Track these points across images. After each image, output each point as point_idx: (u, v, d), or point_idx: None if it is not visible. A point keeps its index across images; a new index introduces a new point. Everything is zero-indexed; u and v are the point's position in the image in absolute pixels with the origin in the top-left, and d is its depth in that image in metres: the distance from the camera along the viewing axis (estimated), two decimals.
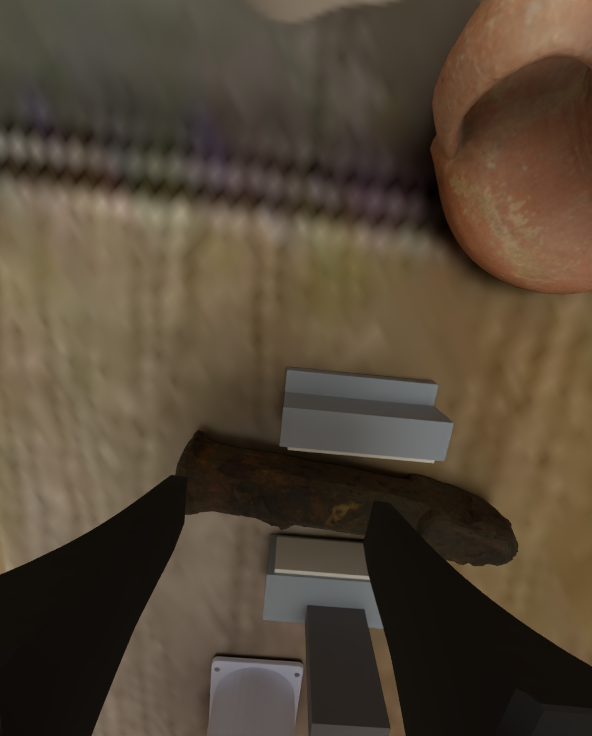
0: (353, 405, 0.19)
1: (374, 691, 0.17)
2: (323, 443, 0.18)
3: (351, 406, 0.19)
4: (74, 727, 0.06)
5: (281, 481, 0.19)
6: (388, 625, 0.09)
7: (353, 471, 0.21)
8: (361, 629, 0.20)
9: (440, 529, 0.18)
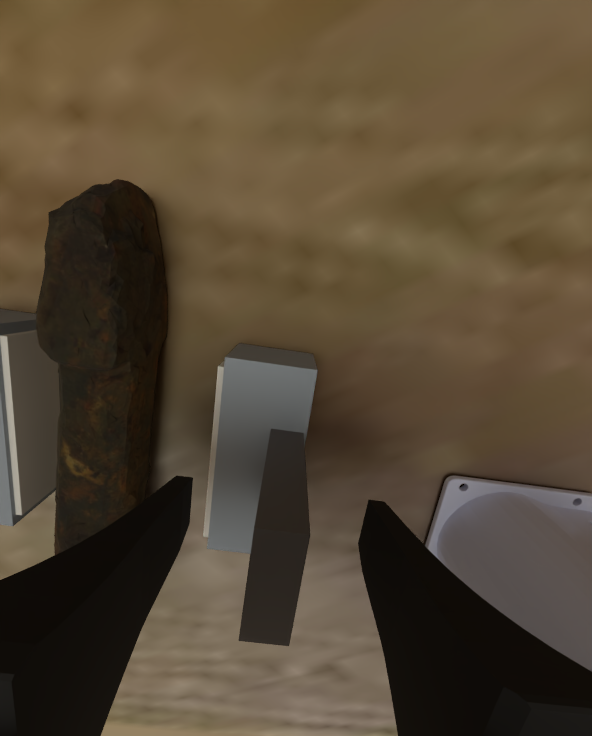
0: None
1: None
2: None
3: None
4: (84, 728, 0.06)
5: (55, 526, 0.15)
6: (382, 624, 0.09)
7: None
8: None
9: (48, 342, 0.11)
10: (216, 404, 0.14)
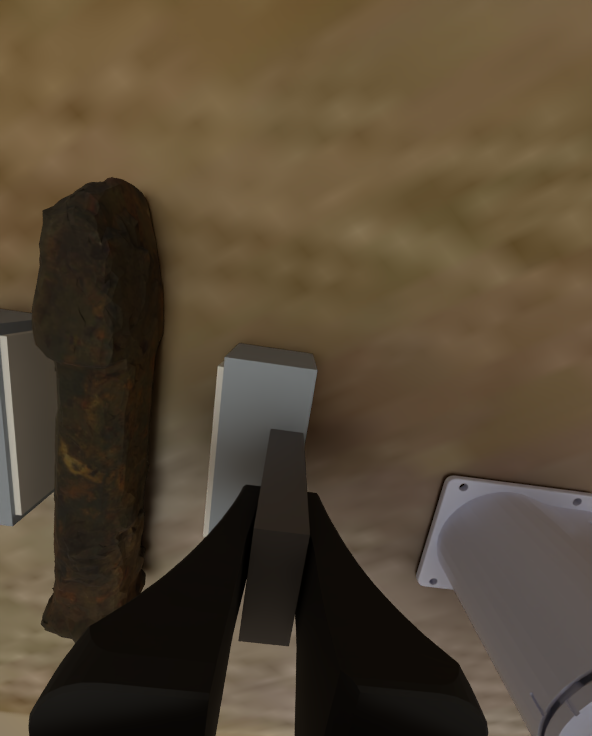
0: None
1: None
2: None
3: None
4: None
5: (55, 526, 0.15)
6: (297, 615, 0.09)
7: None
8: None
9: (44, 340, 0.11)
10: (216, 404, 0.14)
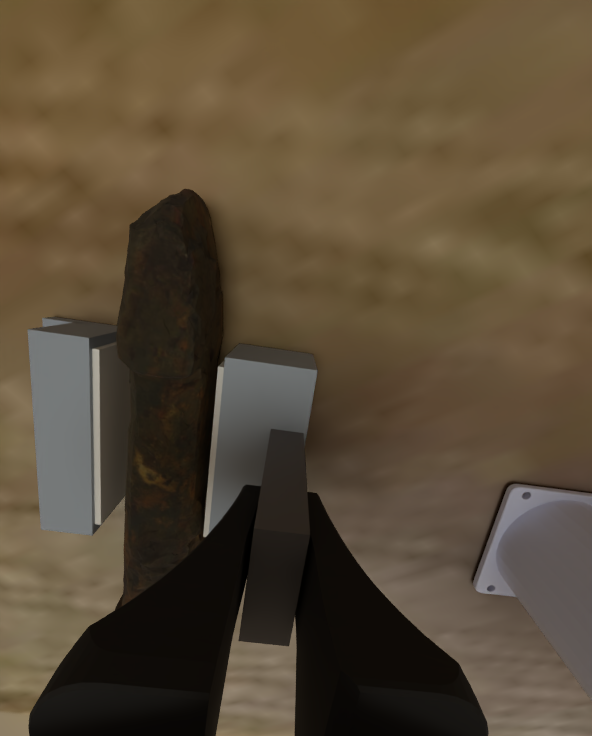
0: None
1: None
2: (82, 489, 0.15)
3: None
4: None
5: (126, 535, 0.15)
6: (298, 615, 0.09)
7: None
8: None
9: (128, 353, 0.12)
10: (216, 404, 0.14)
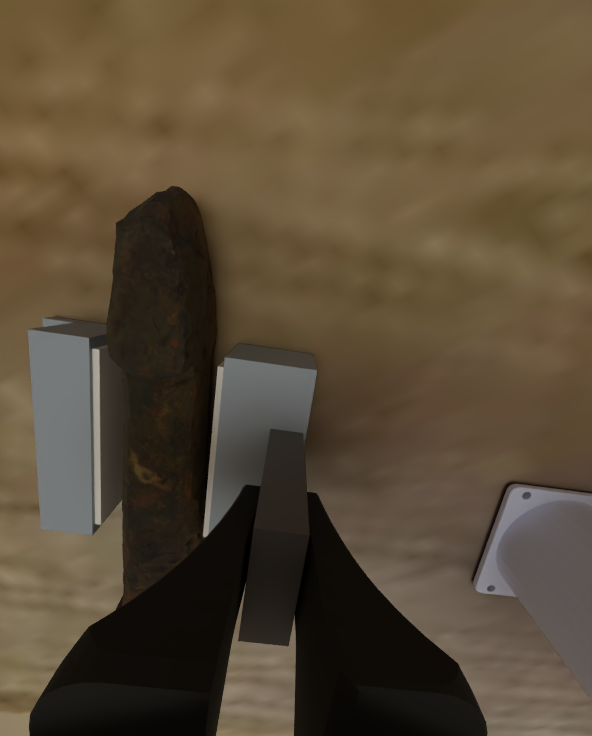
0: None
1: None
2: (82, 489, 0.15)
3: None
4: None
5: (124, 535, 0.15)
6: (297, 615, 0.09)
7: None
8: None
9: (118, 352, 0.12)
10: (216, 404, 0.14)
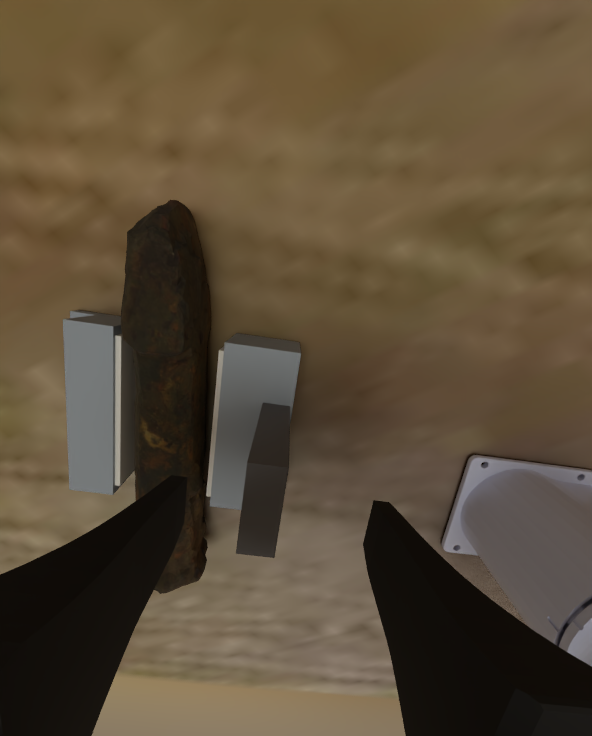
0: None
1: None
2: (104, 454, 0.17)
3: None
4: (74, 727, 0.06)
5: (137, 494, 0.18)
6: (388, 625, 0.09)
7: None
8: None
9: (131, 335, 0.14)
10: (217, 382, 0.17)
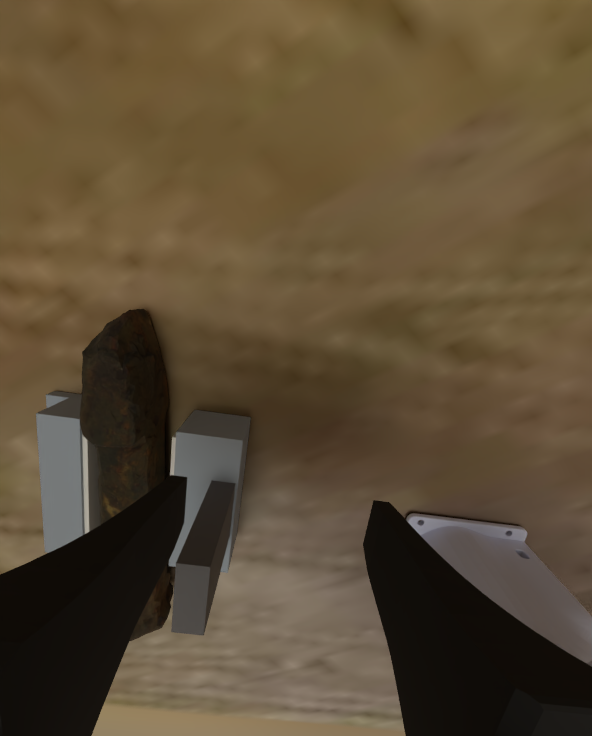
0: None
1: None
2: (75, 523, 0.20)
3: None
4: (74, 727, 0.06)
5: None
6: (388, 625, 0.09)
7: None
8: None
9: (89, 433, 0.17)
10: (172, 463, 0.19)
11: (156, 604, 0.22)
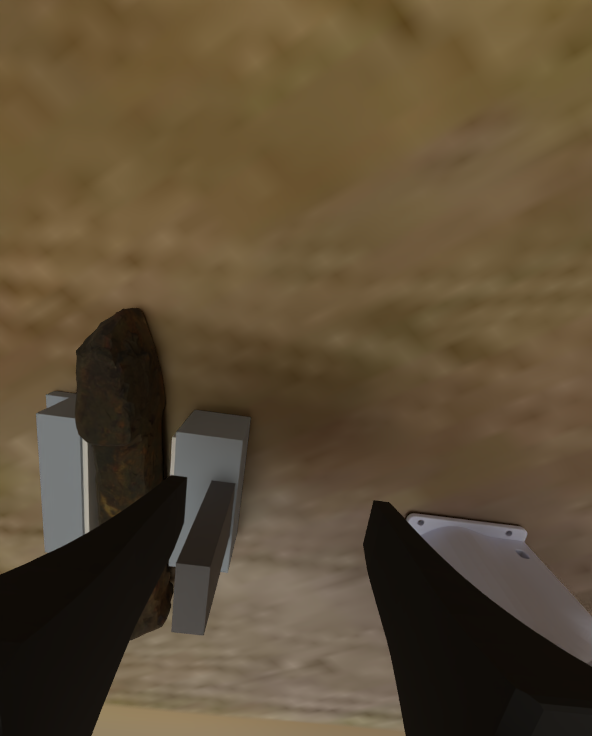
0: None
1: None
2: (75, 523, 0.20)
3: None
4: (74, 727, 0.06)
5: None
6: (388, 625, 0.09)
7: None
8: None
9: (84, 432, 0.17)
10: (172, 463, 0.19)
11: (156, 603, 0.22)
